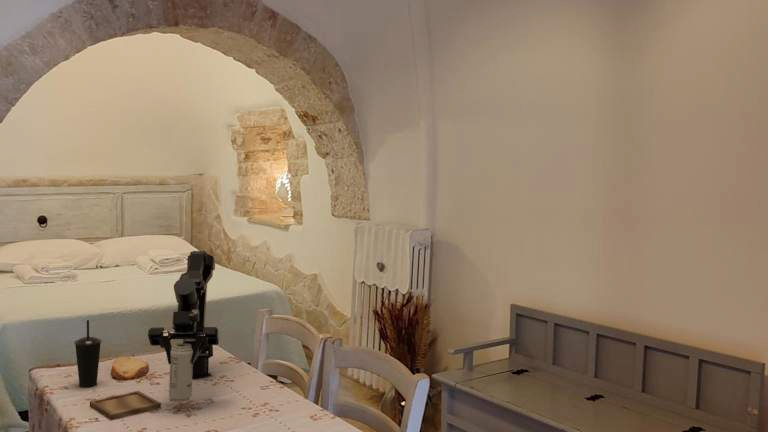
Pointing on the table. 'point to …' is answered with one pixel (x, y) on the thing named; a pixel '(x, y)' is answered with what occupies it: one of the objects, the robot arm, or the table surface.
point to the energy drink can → (181, 372)
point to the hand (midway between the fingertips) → (180, 363)
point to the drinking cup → (88, 359)
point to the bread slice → (129, 368)
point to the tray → (125, 405)
